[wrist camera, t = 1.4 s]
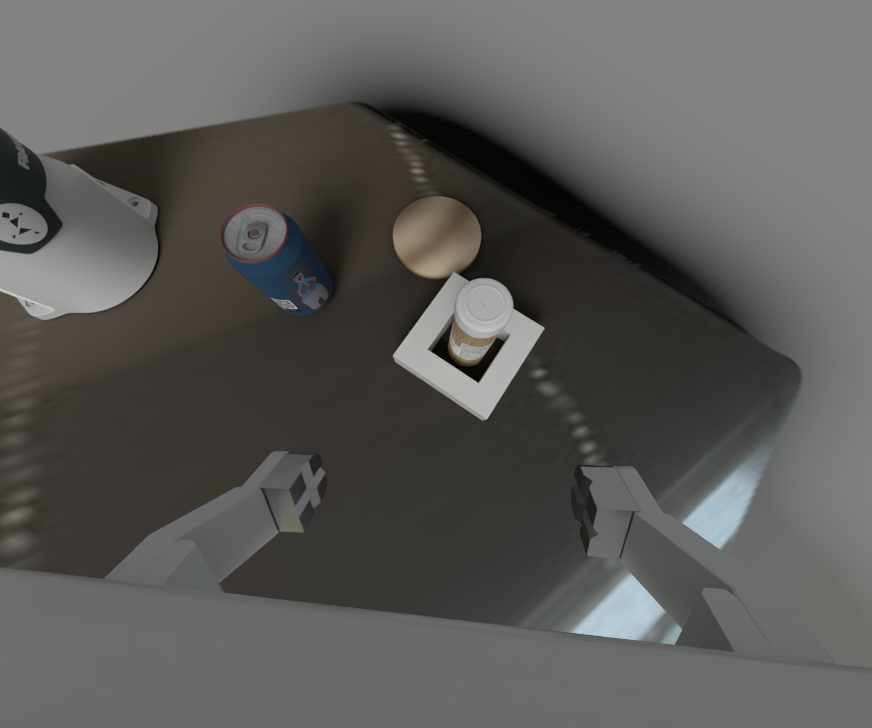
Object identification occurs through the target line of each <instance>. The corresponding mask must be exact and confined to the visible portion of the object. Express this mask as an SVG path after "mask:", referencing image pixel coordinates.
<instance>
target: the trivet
mask: <svg viewBox="0 0 872 728" xmlns="http://www.w3.org/2000/svg"><path fill="white" fill-rule="evenodd" d="M393 242H394V247H395V251H396V254H397V256H398V258H399V260H400V261H401V262H402V264H403V265H404V266H405V267H406V268H407V269H408V270H410V271H411V272H413V273H414V274H416V275H418V276H421V277H424V278H428V279H446V278H450V277H451V275H452V274H453V272H455V273H456V274H460V273H462V272H463V271H465V270H466V269H467V268H468V267H469V266H470V265H471V264H472V263H473V261H474V260H475V258H476V256H477V254H478V251H479V247H480V243H481V229H480V225H479V222H478V220H477V218H476V217H475V215H474V214H473V212H472V211H471V210H470V209H469V208H468V207H467V206H465V205H464V204H462V203H461V202H459V201H457V200H454V199H451V198H448V197H441V196H432V197H426V198H422V199H419V200H417V201H415V202H413V203H411V204H410V205H408V206H407V207H406V208H405V209H404V210H403V211H402V212H401V213H400V215H399V216H398V218H397V220H396V222H395V225H394V229H393Z"/></svg>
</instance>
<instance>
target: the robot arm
mask: <svg viewBox="0 0 872 728" xmlns="http://www.w3.org/2000/svg"><path fill="white" fill-rule="evenodd" d="M157 214H158V208H157V206H156V205H155V204H154V203H152V202H151V201H149V200H148V199H145V198H143V197H140V196H138V195H135V194H133V193H130V192H128V191H126V190H123V189H121V188H118V187H116V186H113V185H111V184H108V183H106V182H103V181H101V180H98V179H96V178H93V177H92V176H90V175H89V174H88V173H86V172H85V171H83V170H82V169H81V168H79V167H77V166H76V165H74V164H71V165H68V164H66V163H64V162H61V161H59V160H56V159H53V158H49V157H46V156H42V155H39V154H36V153H33V152H32V151H31V150H30V149H28V148H27V147H25V146H24V145H22V144H21V143H20V142H18V140H17V139H15V138H14V137H13V136H11V135H10V134H9V133H7V132H6V131H4V130H3V129H1V128H0V291H2V292H4V293H7V294H10V295H13V296H15V297H17V299H18V300H19V301H20V303H21V304H22V305H23V306H24V308H25V309H26V310H27V312H28V313H29V314H30V315H31V316H34V317H36V318H39V319H42V320H48V319H52V318H55V317H58V316H61V315H64V314H67V313H90V312H97V311H102V310H105V309H108V308H111V307H113V306H116V305H118V304H120V303H122V302H123V301H125V300H126V299H128V298H129V297H131V296H132V295H133V294H134V293H136V292H137V291H138V290H139V289H140V288H141V287H142V285H143V284H144V283H145V282H146V280H147V279H148V278H149V276H150V274H151V273H152V271H153V268H154V266H155V263H156V260H157V255H158V241H157V237H156V233H155V223H156V219H157ZM322 463H323V462H322V459H321V456H320V455H319V454H317V453H305V452H291V451H290V452H285V451H275V452H272V453H271V454H270V455H269V456H268V457H267V459H266V460H265V461H264V462H263V463H262V464H261V465H260V466H259V468H258V469H257V470H256V471H255V472H254V473H253V474H252V476H251V477H250V478H249V479H248V480H247V481H246V482H245V484H244V485H243V486H242V487H236V488H234V489H232V490H230V491H229V492H227V493H225V494H223V495H221V496H220V497H218V498H216V499H214V500H212V501H210V502H209V503H207V504H205V505H203V506H201V507H199V508H198V509H196V510H194V511H192V512H190V513H189V514H187V515H185V516H183V517H181V518H179V519H178V520H176V521H174V522H172V523H170V524H168V525H167V526H165V527H163V528H161V529H159V530H157V531H156V532H154V533H152V534H150V535H149V536H148V537H147V538H146V539H145V540H143V541H142V542H141V543H140V544H139V545H138V546H137V547H136V548H135V549H134V550H133V551H132V552H131V553H130V554H129V555H128V556H127V557H126V558H125V559H124V560H123V561H122V562H121V563H120V564H119V565H118V566H117V567H116V568H115V569H114V570H112V571H111V572H110V573H109V574H108V575H107V576H106V577H105V578H104V579H100V578H91V577H83V576H74V575H65V574H57V573H48V572H40V571H31V570H22V569H14V568H5V567H0V728H872V668H870V667H861V666H853V665H844V664H838V663H837V662H836V661H835V660H834V658H833V657H832V656H831V655H830V653H829V652H828V651H827V650H826V648H825V647H824V646H823V645H822V643H821V642H820V641H819V640H818V638H817V637H816V636H815V635H814V633H813V632H812V631H811V629H810V628H809V627H808V626H807V624H806V623H805V622H804V621H803V619H802V618H801V617H800V615H799V614H798V613H797V612H796V611H795V609H794V608H793V607H792V605H791V604H790V603H789V602H788V600H787V599H786V598H785V597H784V595H783V594H782V593H781V592H779V591H778V590H776V589H775V588H774V587H772V586H771V585H769V584H768V583H767V582H765V581H764V580H762V579H761V578H759V577H758V576H756V575H755V574H754V573H752V572H751V571H749V570H748V569H747V568H745V567H744V566H742V565H741V564H740V563H738V562H737V561H735V560H734V559H732V558H731V557H730V556H728V555H727V554H725V553H724V552H722V551H721V550H720V549H718V548H717V547H715V546H714V545H712V544H711V543H710V542H708V541H707V540H705V539H704V538H702V537H701V536H700V535H698V534H697V533H695V532H694V531H692V530H691V529H690V528H688V527H687V526H685V525H684V524H682V523H681V522H680V521H678V520H677V519H675V518H674V517H672V516H671V515H670V514H663V512H662V511H661V509H660V508H659V506H658V504H657V503H656V501H655V500H654V498H653V496H652V495H651V493H650V491H649V490H648V488H647V487H646V485H645V483H644V482H643V480H642V479H641V477H640V475H639V474H638V472H637V471H636V469H635V468H633V467H629V466H593V465H577V467H576V468H575V474H574V476H575V478H576V481H577V483H575V484H574V485H573V486H572V492H571V502H572V509H573V513H574V517H575V520H577V521H578V522H579V523H580V524H581V529H580V536H581V539H582V542H583V545H584V549H585V552H586V555H587V556H593V557H602V558H612V559H620V562H621V563H622V564H623V565H624V566H625V567H626V568H627V569H628V570H629V572H630V573H631V574H632V575H633V576H634V577H635V578H636V579H637V580H638V581H639V582H640V584H641V585H642V586H643V587H644V588H645V589H646V590H647V591H648V592H649V593H650V595H651V596H652V597H653V598H654V599H655V600H656V601H657V602H658V603H659V604H660V605H661V607H662V608H663V609H664V610H665V611H666V612H667V613H668V614H669V615H670V616H671V618H672V619H673V620H674V621H675V622H676V623H677V624H678V625H679V626H680V627H681V629H682V632H681V634H680V636H679V638H678V640H677V641H676V643H675V645H671V644H662V643H654V642H645V641H636V640H628V639H619V638H610V637H602V636H593V635H584V634H576V633H567V632H558V631H550V630H541V629H532V628H524V627H515V626H506V625H498V624H489V623H480V622H472V621H463V620H454V619H446V618H437V617H428V616H420V615H411V614H402V613H393V612H385V611H376V610H367V609H358V608H350V607H341V606H332V605H324V604H315V603H306V602H298V601H289V600H281V599H272V598H263V597H255V596H246V595H237V594H229V593H225V592H224V591H223V589H222V587H221V585H220V584H219V583H220V582H221V581H222V580H223V579H224V578H226V577H227V576H228V575H229V574H230V573H231V572H233V571H234V570H235V569H236V568H237V567H239V566H240V565H241V564H242V563H243V562H244V561H246V560H247V559H248V558H249V557H250V556H252V555H253V554H254V553H255V552H256V551H257V550H259V549H260V548H261V547H262V546H263V545H265V544H266V543H267V542H268V541H269V540H271V539H272V538H273V537H274V536H275V535H276V534H278V531H286V532H305V530H306V528H307V526H308V525H309V523H310V521H311V519H312V517H313V516H314V509H313V507H315V506H316V505H318V504H319V503H320V502H321V501H322V499H323V497H324V495H325V492H326V488H327V477H326V473H325V472H324V471H323V470H322V469H321V468H320V466H321V465H322Z"/></svg>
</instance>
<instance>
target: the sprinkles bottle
mask: <svg viewBox="0 0 872 728" xmlns="http://www.w3.org/2000/svg"><path fill="white" fill-rule="evenodd" d="M512 313H513V299H512V296H511V294H510V292H509V291H508V289H507V288H506V287H505V286H504V285H503V284H501V283H500V282H498V281H496V280H493V279H489V278H478V279H474V280H471V281H470V282H468V283H467V284H465V285H464V286H463V287H462V288H461V289H460V291H459V293H458V295H457V297H456V301H455V306H454V316H455V318H454V321H453V325H452V330H451V335H450V340H449V343H448V352H449V355H450V357H451V358H452V360H453V361H455V362H456V363H457V364H459V365H461V366H473V365H476V364H477V363H479V362H480V361H481V360H482V359H483V357H484V355H485V353H486V352H487V351H488V349H489V348H490V346H491V345H492V343H493V342H494V340H495V339H496V337H497V335H498V333H500V332H501V331H502V330H503V329H504V328H505V326H506V325H507V323H508V322H509V320H510V318H511V316H512Z"/></svg>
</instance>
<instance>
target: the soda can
mask: <svg viewBox="0 0 872 728" xmlns="http://www.w3.org/2000/svg"><path fill="white" fill-rule="evenodd" d="M220 242H221V245H222V247H223V249H224V250H225V252H226V256H227V259H228V261H229V263H230V264H231V266H232V267H233V268H234V269H235V270H236V271H237V272H238V273H240V274H241V275H242V276H243V277H244V278H246V279H247V280H248V281H249V282H250V283H252V284H253V285H254V286H255V287H256V288H258V289H259V290H260V291H261V292H262V293H264V294H265V295H266V296H267V297H268V298H270V299H271V300H272V301H273V302H274V303H276V304H277V305H278V306H279V307H280V308H282V309H283V310H284V311H286V312H288V313H290V314H293V315H299V316H303V315H310V314H313V313H315V312H317V311H319V310H320V309H322V308H323V307H324V306H325V305H326V304H327V302H328V301H329V299H330V297H331V294H332V290H333V283H332V279H331V276H330V274H329V273H328V271H327V270H326V268H325V266H324V265H323V263H322V262H321V260H320V259H319V257H318V256H317V254H316V253H315V251H314V249H313V248H312V246H311V245H310V243H309V242H308V240H307V239H306V237H305V236H304V234H303V233H302V231H301V229H300V228H299V226H298V225H297V224H296V222H295V221H294V220H293V219H292V218H290V217H289V216H287V215H285V214H283V213H281V212H280V211H279V210H278V209H276V208H275V207H273V206H270V205H268V204H263V203H251V204H246V205H243V206H241V207H239V208H237V209H235V210H234V211H232V212H231V213H230V214H229V215H228V216H227V217H226V218H225V220H224V221H223V223H222V226H221V229H220Z"/></svg>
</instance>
